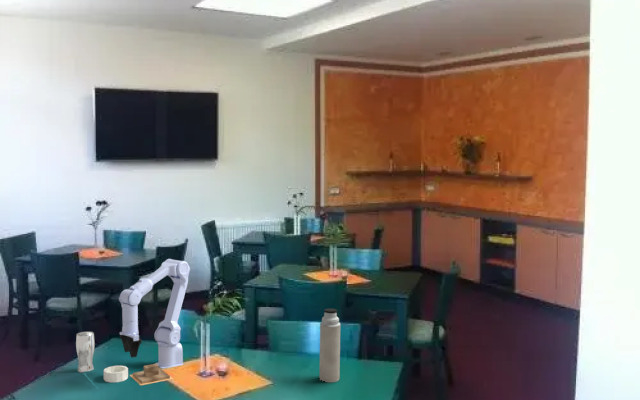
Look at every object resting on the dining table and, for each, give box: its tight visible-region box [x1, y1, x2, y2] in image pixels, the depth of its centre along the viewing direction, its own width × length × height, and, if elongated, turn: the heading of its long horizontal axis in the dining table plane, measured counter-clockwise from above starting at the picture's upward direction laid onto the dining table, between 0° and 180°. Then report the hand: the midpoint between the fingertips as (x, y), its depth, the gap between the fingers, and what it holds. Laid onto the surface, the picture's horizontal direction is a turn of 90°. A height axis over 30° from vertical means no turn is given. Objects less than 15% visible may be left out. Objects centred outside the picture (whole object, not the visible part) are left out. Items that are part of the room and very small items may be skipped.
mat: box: [129, 374, 174, 386], centre depth 256 cm, size 13×13×1 cm
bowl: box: [103, 365, 129, 383], centre depth 254 cm, size 9×9×4 cm
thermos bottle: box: [318, 308, 341, 383], centre depth 257 cm, size 8×8×28 cm
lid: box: [132, 363, 171, 385], centre depth 256 cm, size 11×11×4 cm
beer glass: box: [75, 331, 95, 374], centre depth 263 cm, size 7×7×15 cm
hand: (130, 354), depth 255 cm, fingers open, 7 cm apart
